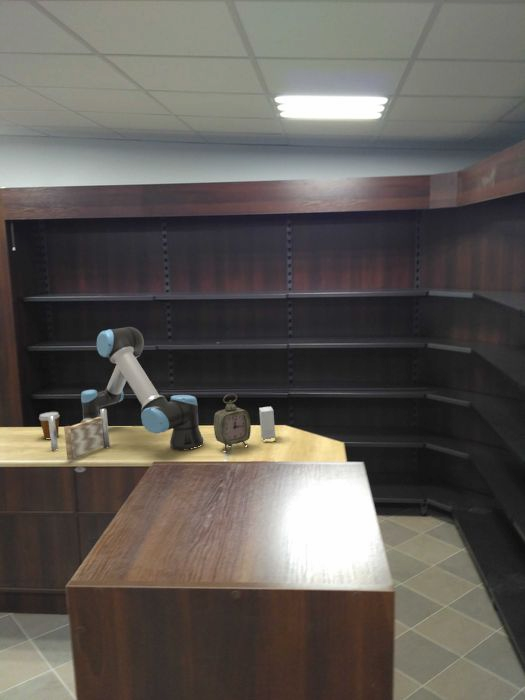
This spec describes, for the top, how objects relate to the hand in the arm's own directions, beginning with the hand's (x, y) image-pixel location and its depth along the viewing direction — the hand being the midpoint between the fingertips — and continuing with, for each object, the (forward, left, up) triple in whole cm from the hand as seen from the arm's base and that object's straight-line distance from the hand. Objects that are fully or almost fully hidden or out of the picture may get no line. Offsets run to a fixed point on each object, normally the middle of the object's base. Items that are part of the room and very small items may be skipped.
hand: (71, 444), depth 236 cm
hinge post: (-1, -18, -7) cm, 19 cm away
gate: (-1, -6, -6) cm, 8 cm away
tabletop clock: (-56, -41, -7) cm, 70 cm away
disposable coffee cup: (+36, -16, -7) cm, 40 cm away
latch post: (+18, -5, -7) cm, 20 cm away
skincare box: (-64, -58, -7) cm, 87 cm away
